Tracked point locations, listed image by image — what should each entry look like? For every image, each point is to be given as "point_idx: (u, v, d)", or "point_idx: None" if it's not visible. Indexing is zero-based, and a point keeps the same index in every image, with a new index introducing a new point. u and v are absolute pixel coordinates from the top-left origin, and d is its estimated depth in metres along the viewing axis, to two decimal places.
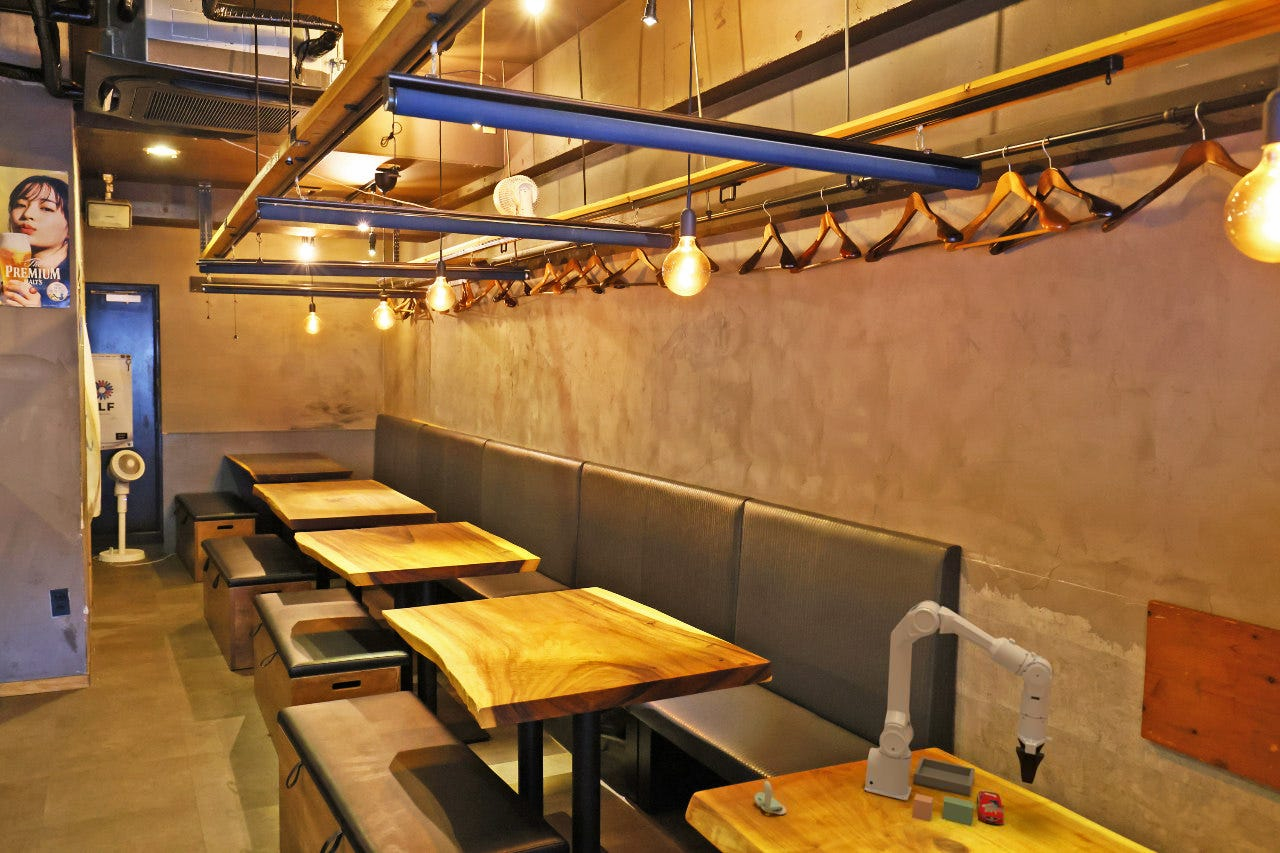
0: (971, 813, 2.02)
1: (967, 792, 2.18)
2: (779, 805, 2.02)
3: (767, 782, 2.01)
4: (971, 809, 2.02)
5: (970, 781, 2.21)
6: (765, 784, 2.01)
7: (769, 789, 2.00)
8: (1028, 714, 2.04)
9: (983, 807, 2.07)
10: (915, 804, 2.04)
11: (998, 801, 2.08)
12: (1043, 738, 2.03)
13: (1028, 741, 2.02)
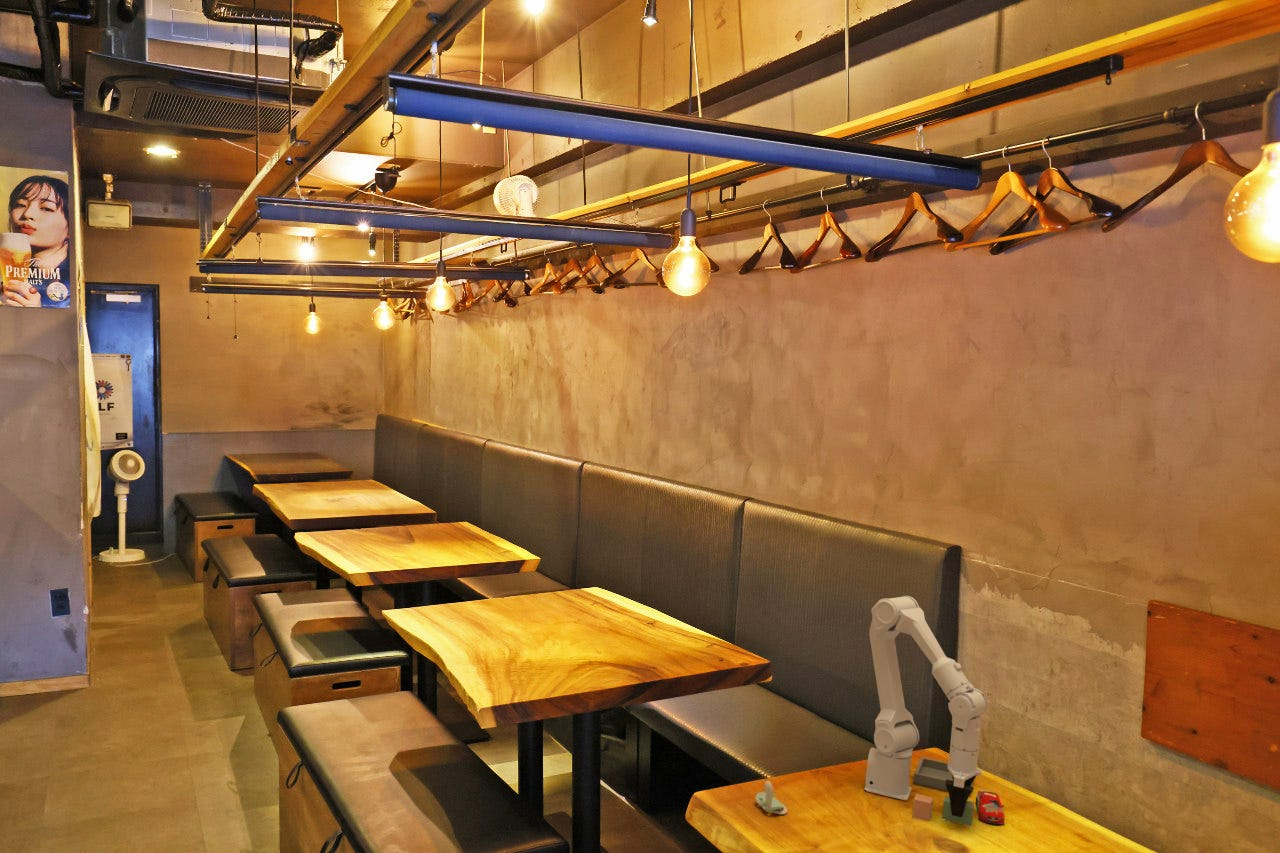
0: (971, 813, 2.02)
1: None
2: (780, 805, 2.02)
3: (768, 782, 2.01)
4: (971, 809, 2.02)
5: None
6: (766, 784, 2.01)
7: (770, 789, 2.00)
8: (953, 745, 2.04)
9: (984, 807, 2.07)
10: (915, 804, 2.04)
11: (998, 801, 2.09)
12: (973, 771, 2.02)
13: (957, 774, 2.01)
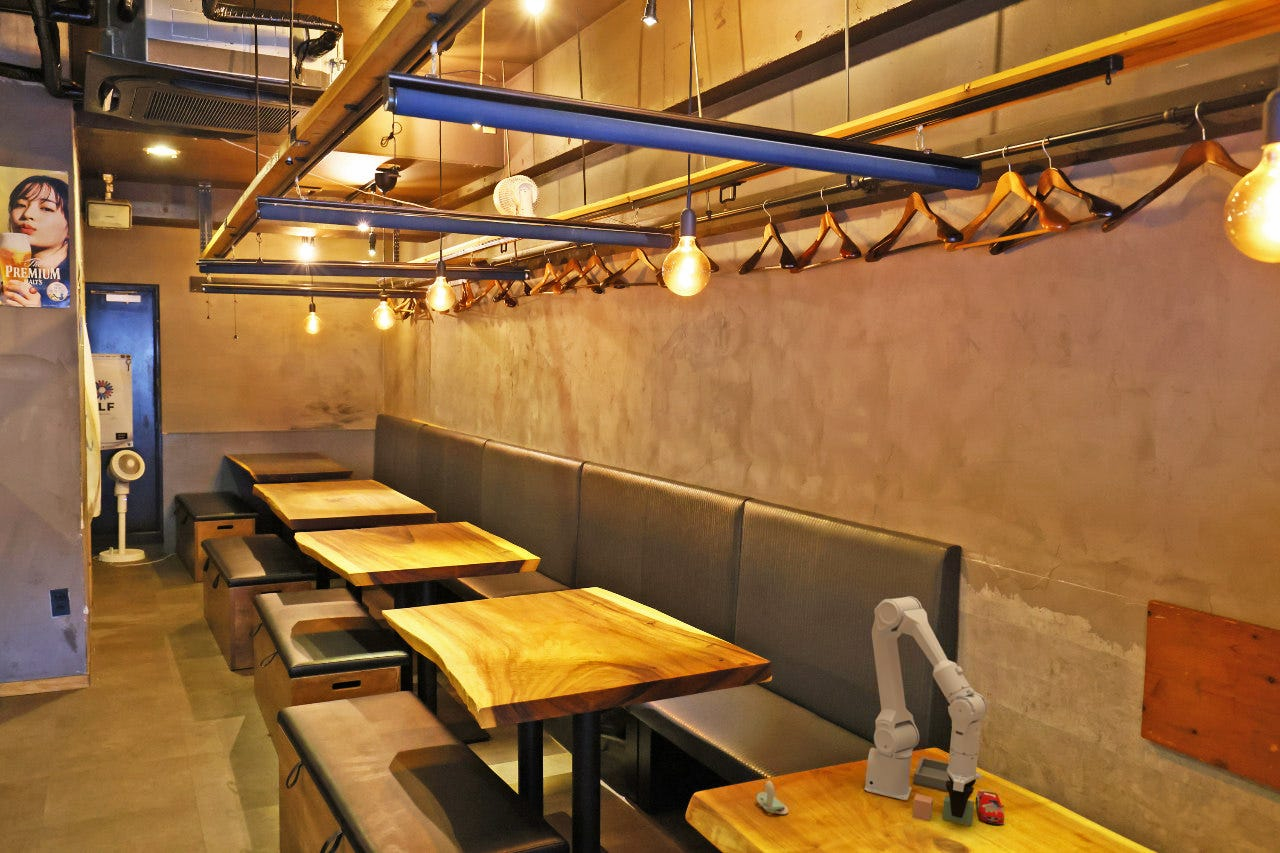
0: (971, 812, 2.02)
1: None
2: (781, 805, 2.02)
3: (769, 782, 2.01)
4: (971, 808, 2.02)
5: None
6: (767, 784, 2.01)
7: (771, 789, 2.00)
8: (953, 748, 2.04)
9: (983, 807, 2.07)
10: (915, 804, 2.04)
11: (998, 801, 2.09)
12: (972, 775, 2.02)
13: (957, 778, 2.01)
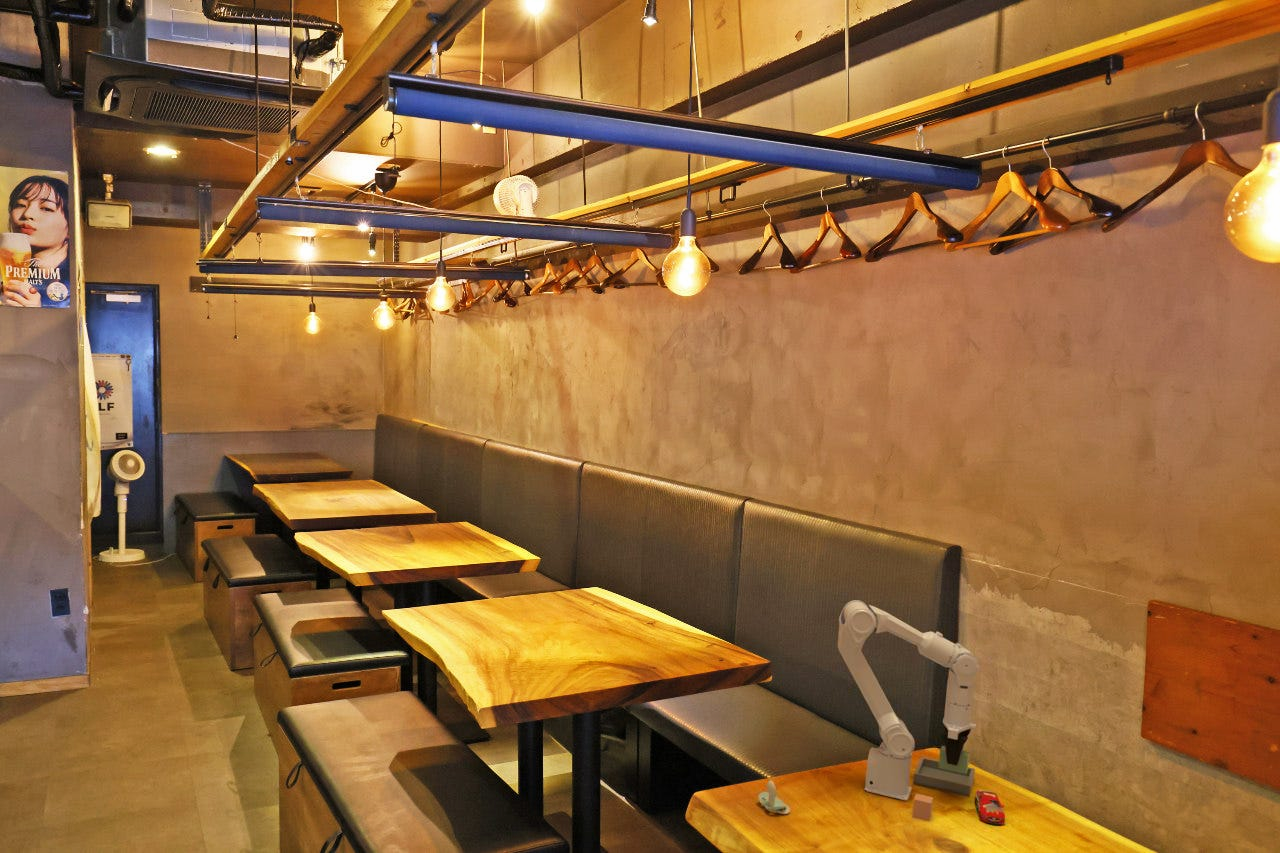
0: (966, 761, 2.13)
1: (967, 792, 2.18)
2: (783, 805, 2.02)
3: (771, 782, 2.02)
4: (966, 757, 2.13)
5: (970, 781, 2.21)
6: (769, 784, 2.02)
7: (773, 789, 2.01)
8: (957, 703, 2.13)
9: (984, 807, 2.07)
10: (915, 804, 2.04)
11: (998, 801, 2.09)
12: (967, 724, 2.14)
13: (952, 727, 2.12)
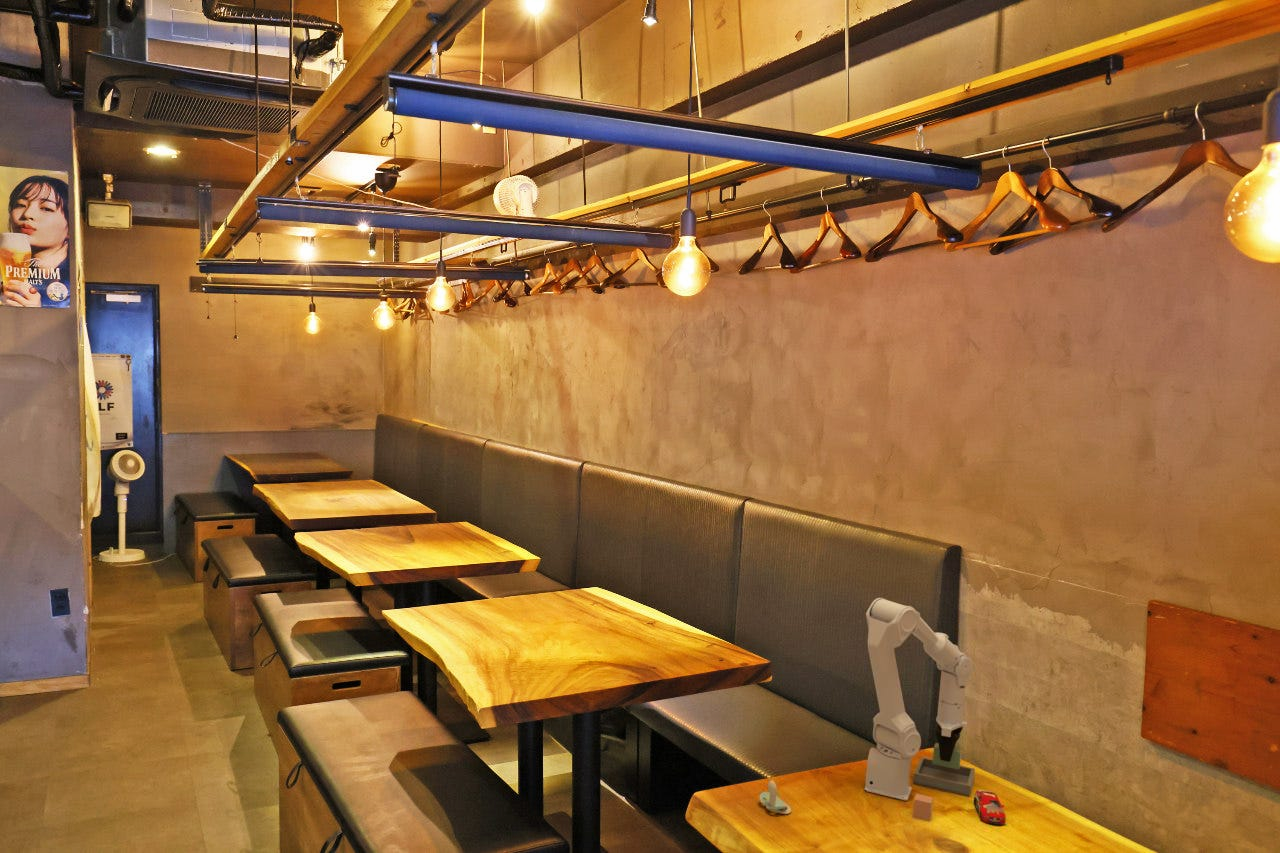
0: (959, 757, 2.23)
1: (967, 792, 2.18)
2: (784, 805, 2.02)
3: (772, 782, 2.02)
4: (958, 753, 2.23)
5: (970, 781, 2.21)
6: (770, 784, 2.02)
7: (774, 789, 2.01)
8: (957, 703, 2.23)
9: (985, 808, 2.07)
10: (915, 804, 2.04)
11: (998, 801, 2.09)
12: (959, 722, 2.23)
13: (945, 725, 2.22)
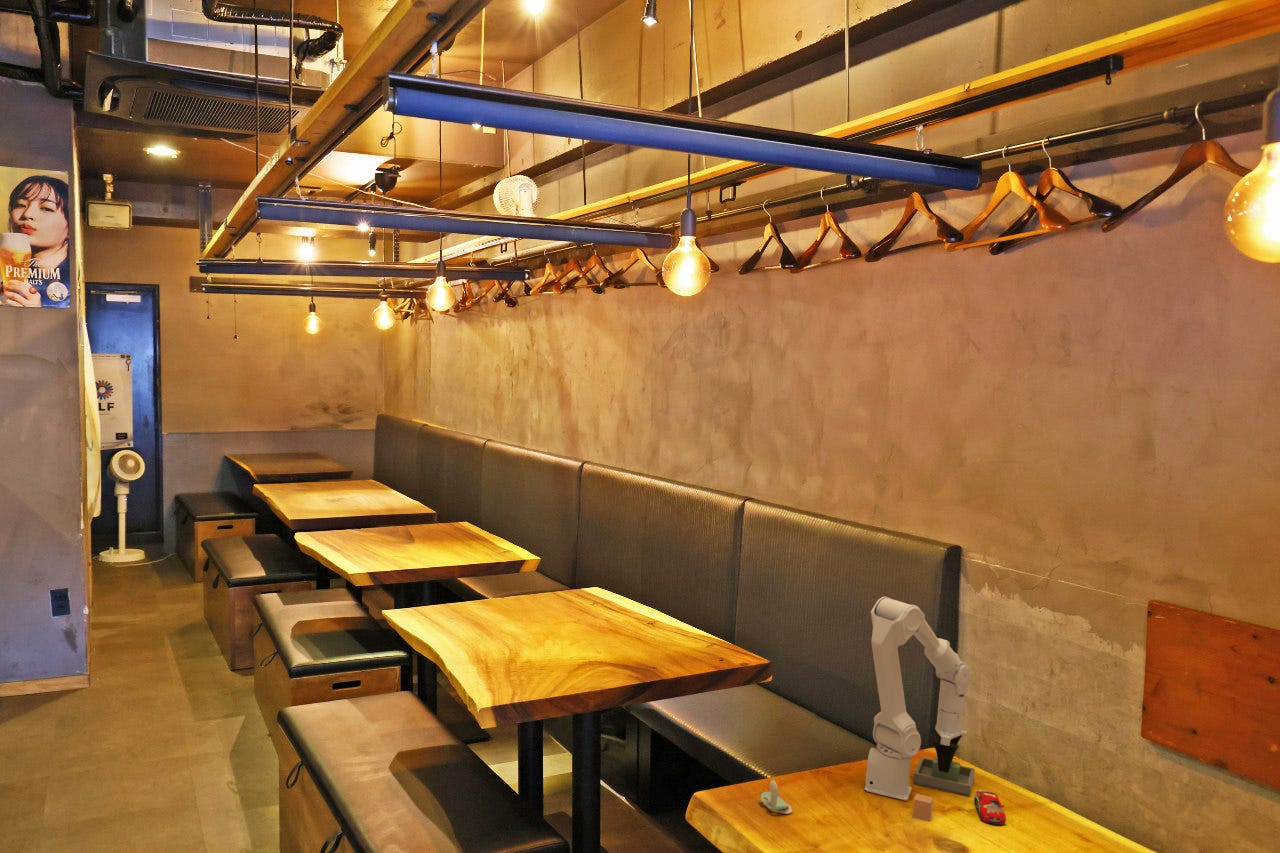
0: (957, 772, 2.23)
1: (967, 792, 2.18)
2: (785, 804, 2.02)
3: (773, 781, 2.02)
4: (957, 768, 2.23)
5: (970, 781, 2.21)
6: (771, 783, 2.02)
7: (775, 789, 2.01)
8: (956, 711, 2.23)
9: (985, 808, 2.07)
10: (915, 804, 2.04)
11: (998, 801, 2.09)
12: (958, 731, 2.23)
13: (944, 734, 2.22)
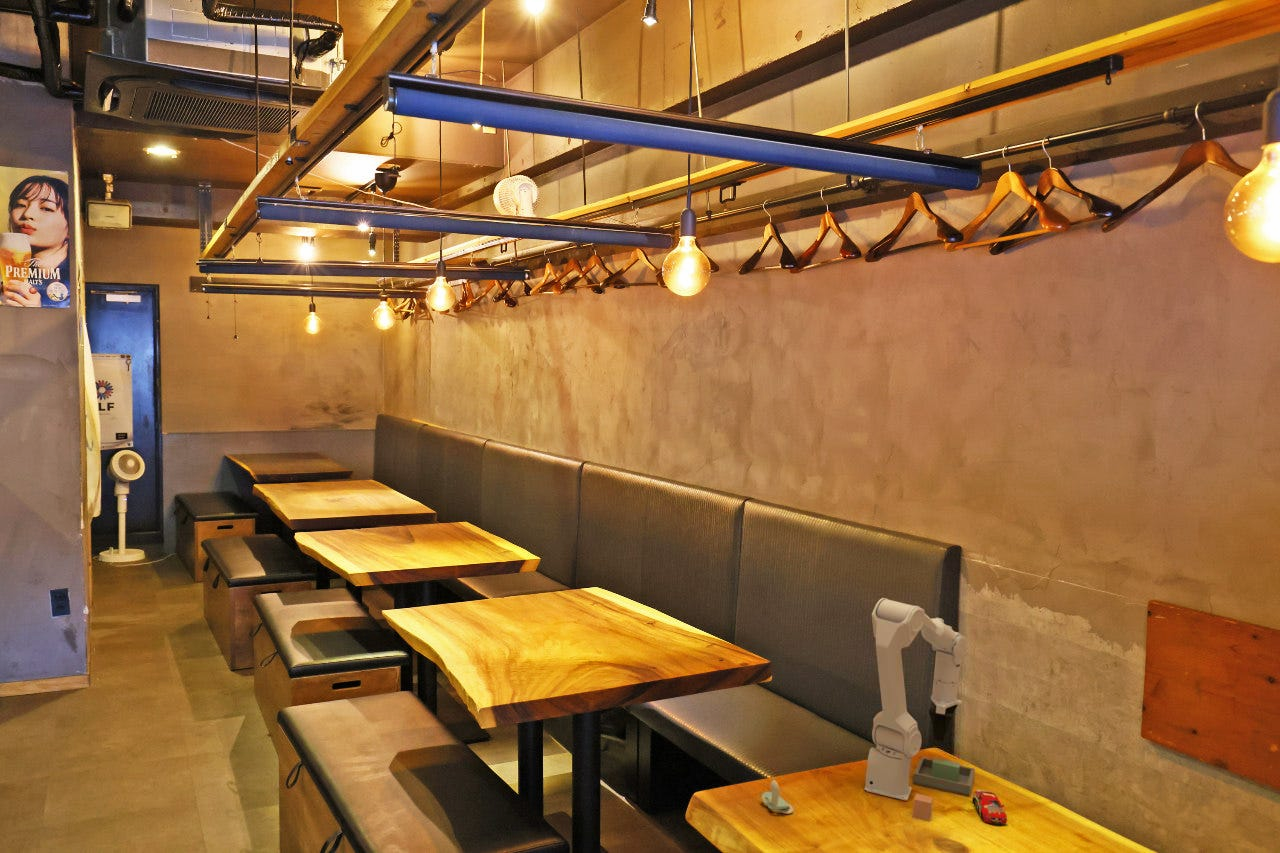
0: (957, 772, 2.23)
1: (967, 792, 2.18)
2: (786, 804, 2.02)
3: (774, 781, 2.02)
4: (957, 768, 2.23)
5: (970, 781, 2.21)
6: (772, 783, 2.02)
7: (776, 789, 2.01)
8: (954, 681, 2.27)
9: (986, 808, 2.06)
10: (915, 804, 2.04)
11: (998, 801, 2.09)
12: (953, 701, 2.28)
13: (939, 703, 2.26)
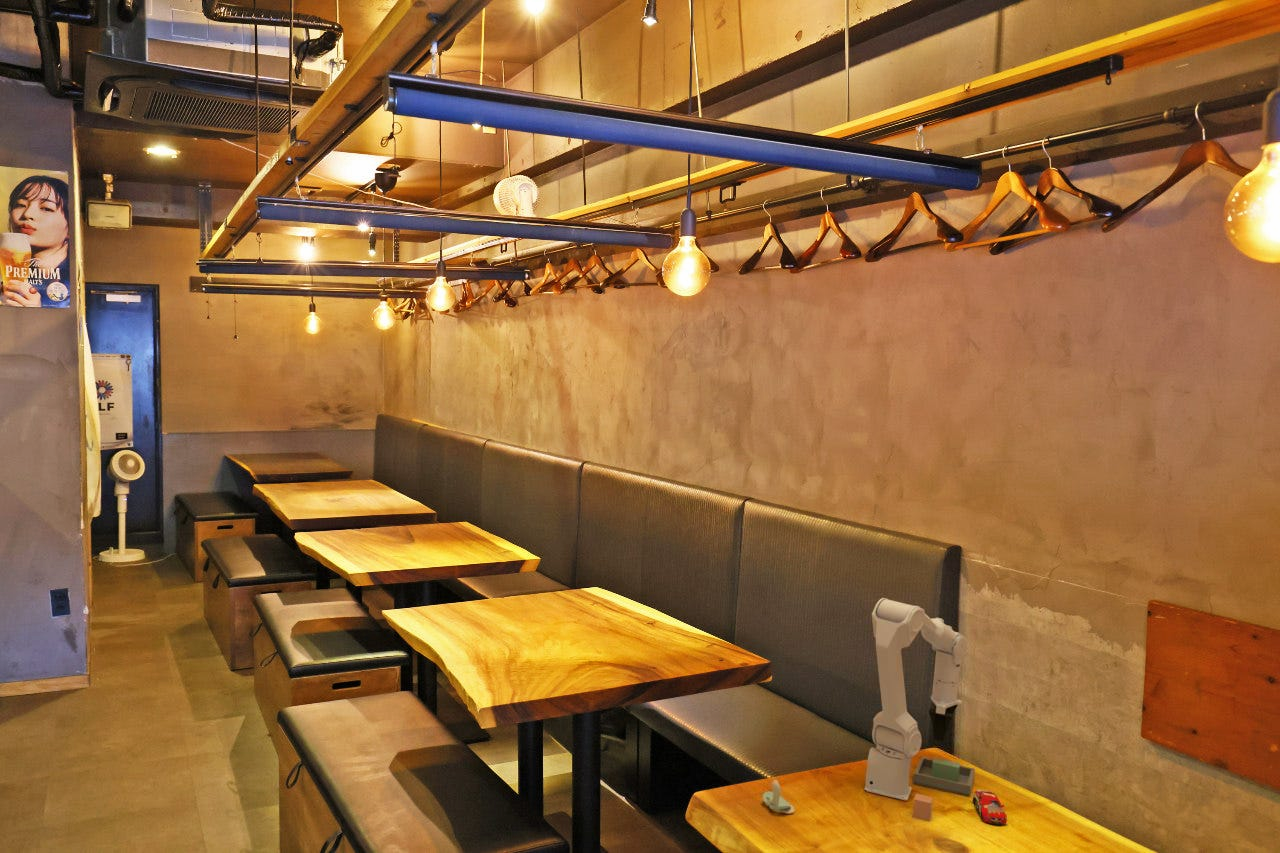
0: (957, 772, 2.23)
1: (967, 792, 2.18)
2: (787, 804, 2.02)
3: (775, 781, 2.02)
4: (957, 768, 2.23)
5: (970, 781, 2.21)
6: (773, 783, 2.02)
7: (778, 789, 2.01)
8: (954, 681, 2.27)
9: (985, 808, 2.06)
10: (915, 804, 2.04)
11: (998, 801, 2.09)
12: (953, 701, 2.28)
13: (939, 703, 2.26)
